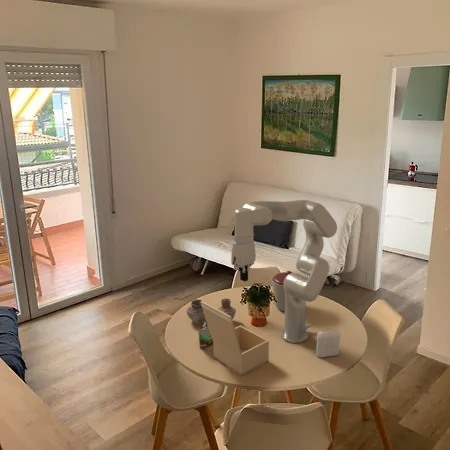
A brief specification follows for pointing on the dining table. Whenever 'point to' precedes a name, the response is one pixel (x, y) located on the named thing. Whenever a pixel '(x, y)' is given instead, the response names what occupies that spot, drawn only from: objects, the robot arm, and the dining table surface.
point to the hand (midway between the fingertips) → (244, 280)
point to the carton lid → (221, 327)
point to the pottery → (198, 315)
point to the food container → (205, 336)
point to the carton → (243, 352)
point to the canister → (280, 289)
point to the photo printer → (328, 343)
